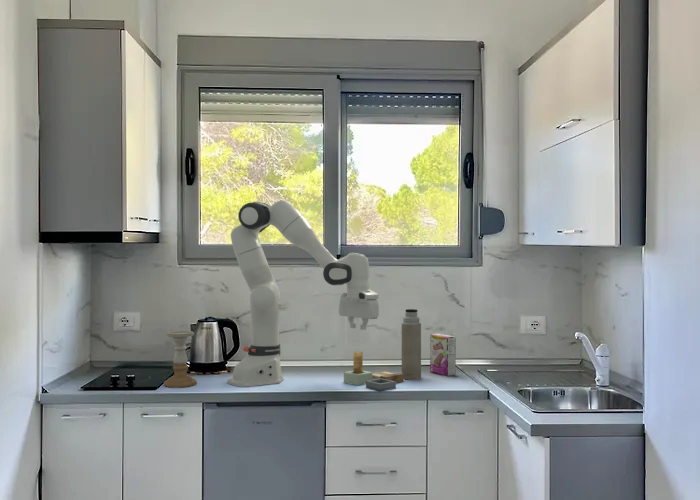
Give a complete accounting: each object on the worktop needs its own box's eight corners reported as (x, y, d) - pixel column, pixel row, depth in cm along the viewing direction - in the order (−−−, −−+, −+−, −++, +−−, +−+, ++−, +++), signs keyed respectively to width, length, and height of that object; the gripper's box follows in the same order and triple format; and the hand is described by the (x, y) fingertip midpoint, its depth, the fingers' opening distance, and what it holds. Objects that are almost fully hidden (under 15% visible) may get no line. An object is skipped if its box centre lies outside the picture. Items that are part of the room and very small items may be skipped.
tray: (380, 391, 229) (380, 384, 229) (365, 387, 235) (365, 380, 235) (395, 388, 234) (395, 381, 234) (381, 384, 240) (381, 378, 240)
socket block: (357, 385, 238) (357, 375, 238) (343, 382, 245) (343, 372, 245) (372, 382, 244) (372, 372, 244) (358, 379, 250) (358, 369, 250)
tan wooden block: (381, 384, 242) (381, 376, 242) (369, 381, 247) (369, 374, 247) (397, 381, 248) (397, 374, 248) (385, 378, 253) (385, 371, 253)
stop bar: (385, 384, 239) (385, 377, 239) (380, 383, 242) (380, 376, 242) (403, 381, 246) (403, 373, 246) (398, 380, 248) (398, 372, 248)
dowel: (357, 383, 242) (357, 353, 242) (351, 382, 244) (351, 351, 244) (364, 382, 244) (364, 352, 244) (358, 381, 247) (358, 351, 247)
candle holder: (203, 383, 243) (203, 331, 243) (182, 389, 232) (182, 335, 232) (178, 380, 248) (178, 330, 248) (156, 386, 237) (156, 333, 237)
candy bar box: (429, 372, 265) (429, 334, 265) (438, 371, 268) (438, 333, 268) (447, 376, 256) (447, 336, 256) (456, 375, 259) (456, 336, 259)
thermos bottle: (397, 378, 253) (397, 309, 253) (407, 374, 259) (407, 308, 260) (415, 380, 248) (415, 310, 248) (424, 377, 255) (424, 309, 255)
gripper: (335, 292, 250) (335, 327, 250) (369, 295, 235) (369, 332, 235) (347, 292, 254) (347, 326, 254) (381, 294, 239) (381, 330, 239)
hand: (358, 328), depth 244 cm, fingers open, 5 cm apart
